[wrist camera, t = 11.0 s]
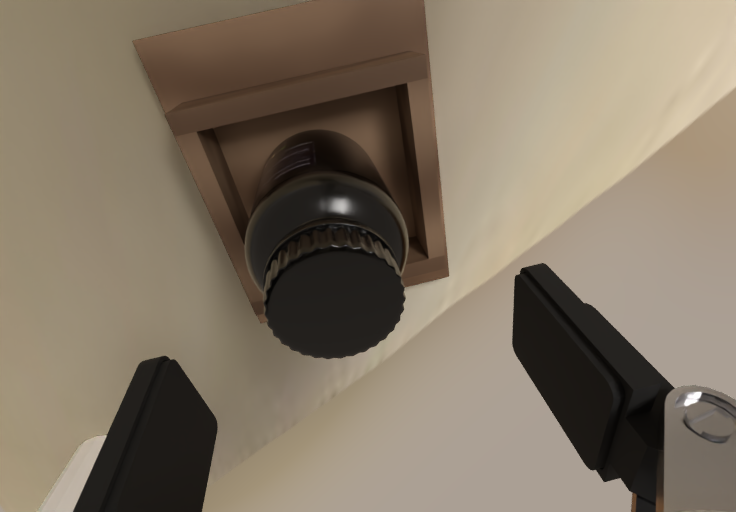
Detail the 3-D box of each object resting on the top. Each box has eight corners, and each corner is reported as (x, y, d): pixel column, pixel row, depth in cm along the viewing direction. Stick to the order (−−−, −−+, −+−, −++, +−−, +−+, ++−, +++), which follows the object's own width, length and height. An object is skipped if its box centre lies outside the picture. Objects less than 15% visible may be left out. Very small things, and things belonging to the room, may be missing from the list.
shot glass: (169, 442, 34) (142, 531, 28) (137, 483, 36) (106, 573, 30) (85, 420, 31) (35, 514, 25) (56, 467, 33) (4, 562, 28)
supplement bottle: (399, 181, 24) (475, 300, 14) (322, 254, 25) (339, 406, 15) (316, 97, 20) (334, 169, 10) (235, 186, 22) (183, 322, 12)
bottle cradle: (139, 40, 19) (104, 43, 15) (416, -22, 19) (441, -32, 16) (261, 314, 28) (256, 353, 25) (444, 269, 29) (464, 301, 25)
